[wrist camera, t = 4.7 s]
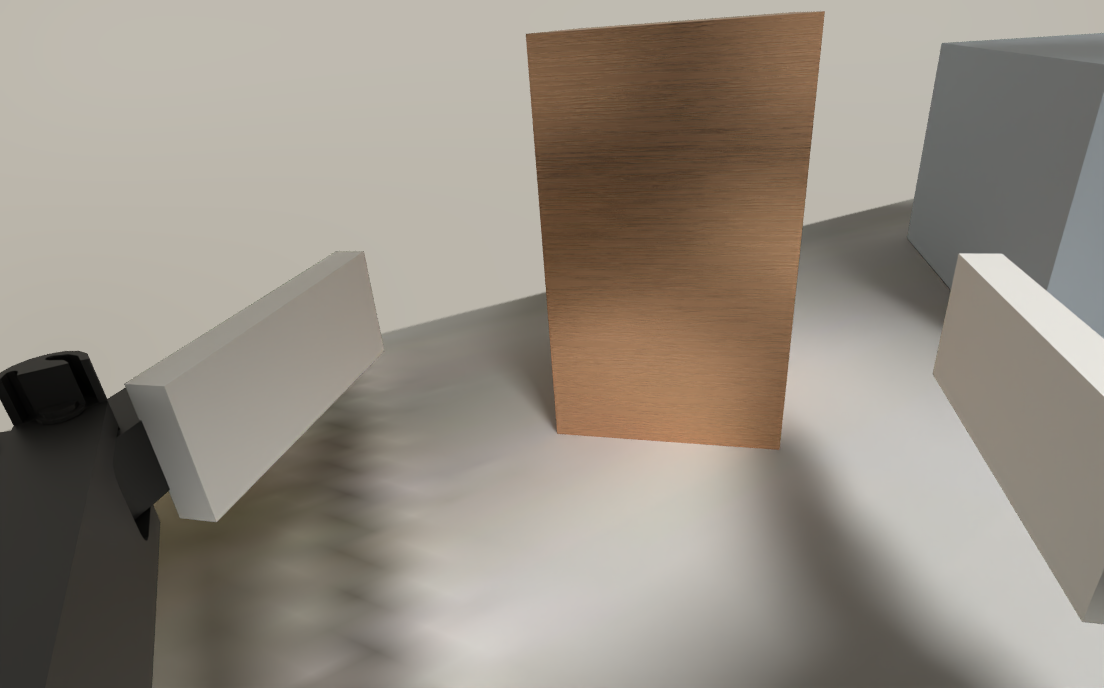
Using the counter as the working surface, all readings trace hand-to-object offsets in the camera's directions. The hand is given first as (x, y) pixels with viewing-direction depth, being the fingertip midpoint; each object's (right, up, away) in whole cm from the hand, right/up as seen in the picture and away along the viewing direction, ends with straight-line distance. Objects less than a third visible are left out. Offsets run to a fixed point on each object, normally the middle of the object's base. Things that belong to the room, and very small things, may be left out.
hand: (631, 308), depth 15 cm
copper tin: (+3, -2, +9) cm, 10 cm away
